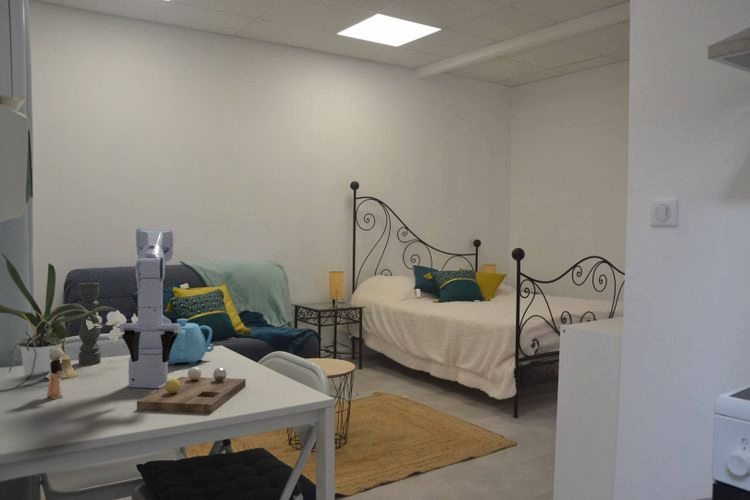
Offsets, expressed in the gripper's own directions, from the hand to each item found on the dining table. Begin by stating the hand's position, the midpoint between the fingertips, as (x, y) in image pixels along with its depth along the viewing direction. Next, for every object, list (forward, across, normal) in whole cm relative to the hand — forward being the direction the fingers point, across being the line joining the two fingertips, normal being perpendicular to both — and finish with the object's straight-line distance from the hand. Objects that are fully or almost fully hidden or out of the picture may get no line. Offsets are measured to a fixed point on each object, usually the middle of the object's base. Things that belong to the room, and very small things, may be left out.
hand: (150, 361), depth 147 cm
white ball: (+6, +7, +12) cm, 15 cm away
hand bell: (+10, -35, +20) cm, 41 cm away
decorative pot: (+10, -8, +43) cm, 45 cm away
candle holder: (+10, -36, +37) cm, 53 cm away
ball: (+6, +6, -1) cm, 8 cm away
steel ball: (+6, +14, +12) cm, 19 cm away
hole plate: (+9, +10, +3) cm, 14 cm away
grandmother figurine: (+10, -24, 0) cm, 26 cm away
